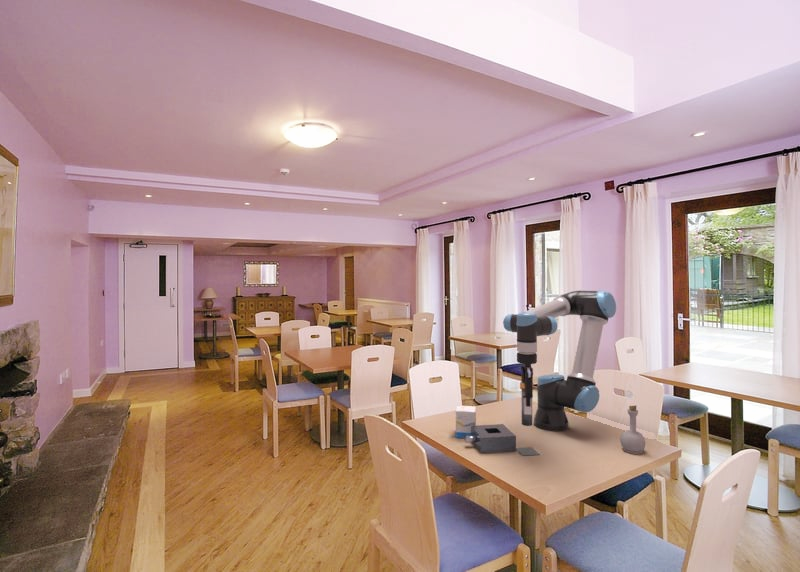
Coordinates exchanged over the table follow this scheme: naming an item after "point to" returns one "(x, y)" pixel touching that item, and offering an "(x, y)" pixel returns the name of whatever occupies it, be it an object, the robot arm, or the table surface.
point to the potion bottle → (632, 435)
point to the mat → (527, 451)
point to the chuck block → (492, 438)
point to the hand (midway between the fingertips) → (526, 412)
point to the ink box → (465, 420)
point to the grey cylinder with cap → (525, 417)
